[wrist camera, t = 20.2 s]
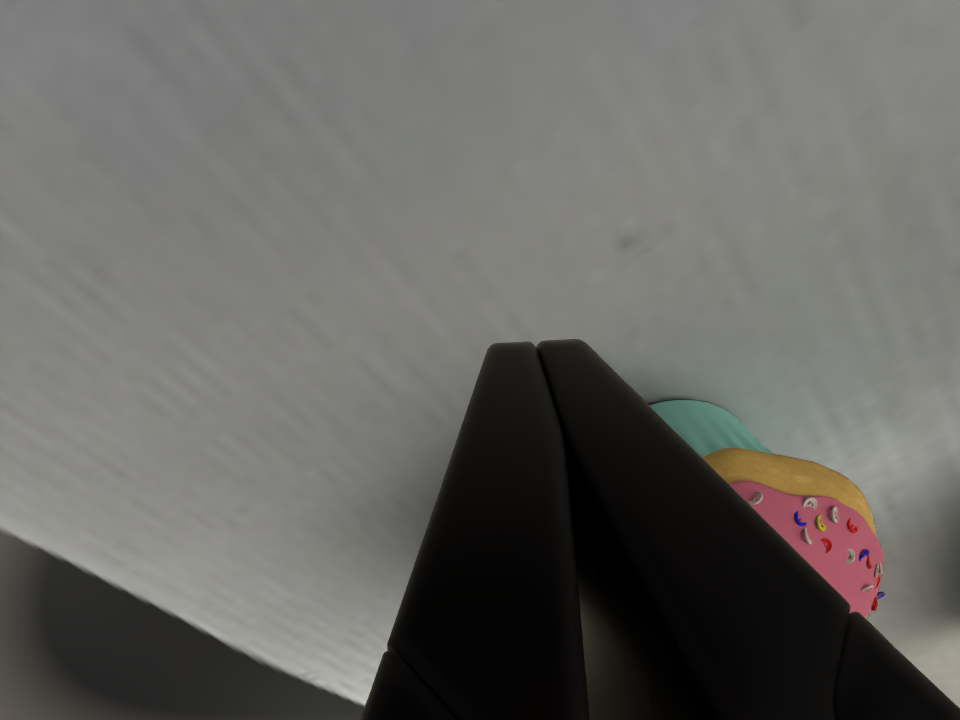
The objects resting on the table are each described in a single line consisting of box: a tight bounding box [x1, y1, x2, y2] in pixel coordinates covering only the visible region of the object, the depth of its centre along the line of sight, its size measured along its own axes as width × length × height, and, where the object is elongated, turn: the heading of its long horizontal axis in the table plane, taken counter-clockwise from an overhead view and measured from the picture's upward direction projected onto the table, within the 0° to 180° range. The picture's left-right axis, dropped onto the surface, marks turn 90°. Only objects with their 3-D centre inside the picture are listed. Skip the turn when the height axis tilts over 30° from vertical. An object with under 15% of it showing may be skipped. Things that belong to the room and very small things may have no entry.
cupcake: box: [649, 400, 885, 620], centre depth 22 cm, size 9×8×12 cm
